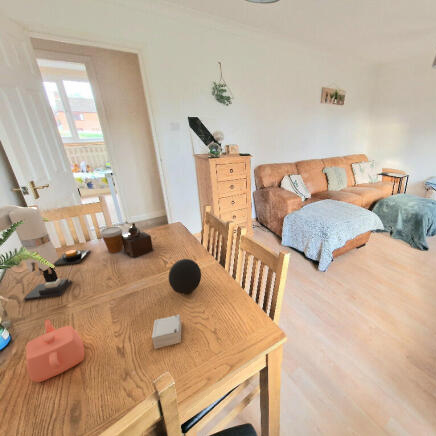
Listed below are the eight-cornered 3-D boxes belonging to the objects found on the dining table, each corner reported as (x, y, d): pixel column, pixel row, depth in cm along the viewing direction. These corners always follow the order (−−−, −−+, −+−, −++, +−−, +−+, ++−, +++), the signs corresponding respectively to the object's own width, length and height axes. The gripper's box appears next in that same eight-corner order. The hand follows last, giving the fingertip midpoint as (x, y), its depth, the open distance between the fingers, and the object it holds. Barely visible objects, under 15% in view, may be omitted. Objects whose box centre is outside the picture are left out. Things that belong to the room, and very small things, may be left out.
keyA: (45, 288, 94) (44, 285, 94) (50, 283, 98) (49, 279, 97) (56, 287, 96) (55, 283, 95) (61, 281, 99) (60, 278, 98)
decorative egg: (186, 279, 109) (182, 250, 103) (208, 286, 105) (205, 257, 99) (164, 295, 98) (158, 264, 92) (188, 304, 94) (183, 272, 88)
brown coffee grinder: (122, 252, 126) (114, 221, 120) (144, 244, 135) (138, 215, 128) (137, 262, 119) (129, 229, 112) (159, 253, 127) (153, 222, 120)
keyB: (64, 257, 116) (63, 254, 115) (68, 253, 119) (67, 250, 119) (74, 256, 117) (73, 253, 116) (78, 252, 120) (77, 249, 120)
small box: (157, 330, 82) (154, 319, 80) (182, 325, 85) (180, 313, 83) (153, 349, 75) (151, 337, 73) (181, 343, 78) (179, 331, 76)
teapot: (33, 399, 61) (17, 371, 57) (31, 353, 72) (18, 327, 68) (90, 369, 69) (79, 342, 65) (80, 331, 80) (71, 307, 76)
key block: (53, 266, 112) (51, 261, 111) (67, 253, 123) (65, 249, 122) (79, 263, 115) (77, 259, 114) (90, 251, 126) (88, 247, 125)
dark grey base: (24, 301, 91) (21, 294, 90) (39, 286, 99) (37, 280, 98) (60, 296, 95) (57, 290, 93) (71, 282, 103) (69, 276, 101)
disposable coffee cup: (101, 255, 123) (95, 234, 118) (110, 246, 131) (104, 226, 127) (122, 253, 125) (117, 233, 121) (129, 245, 134) (125, 225, 129)
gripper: (36, 232, 94) (51, 271, 101) (7, 251, 81) (28, 294, 88) (59, 230, 96) (73, 269, 103) (35, 248, 83) (53, 291, 90)
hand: (52, 280), depth 96 cm, fingers closed
